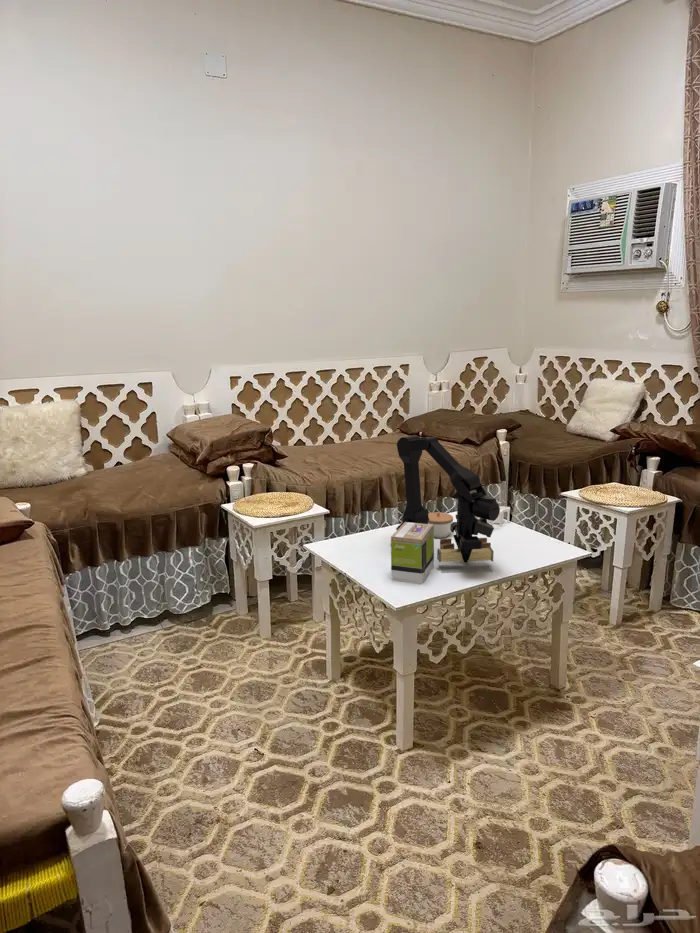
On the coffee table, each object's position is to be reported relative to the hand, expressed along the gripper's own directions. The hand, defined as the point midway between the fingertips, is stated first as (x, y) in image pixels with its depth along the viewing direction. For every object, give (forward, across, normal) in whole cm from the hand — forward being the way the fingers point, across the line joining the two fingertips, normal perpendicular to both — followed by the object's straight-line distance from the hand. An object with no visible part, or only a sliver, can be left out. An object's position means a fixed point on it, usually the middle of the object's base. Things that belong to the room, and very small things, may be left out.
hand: (464, 560), depth 206 cm
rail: (0, 0, 0) cm, 1 cm away
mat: (+3, 0, 0) cm, 3 cm away
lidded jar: (+3, +31, +3) cm, 31 cm away
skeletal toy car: (+3, +39, -17) cm, 43 cm away
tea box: (+3, -3, +17) cm, 17 cm away
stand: (+3, +9, -2) cm, 10 cm away
